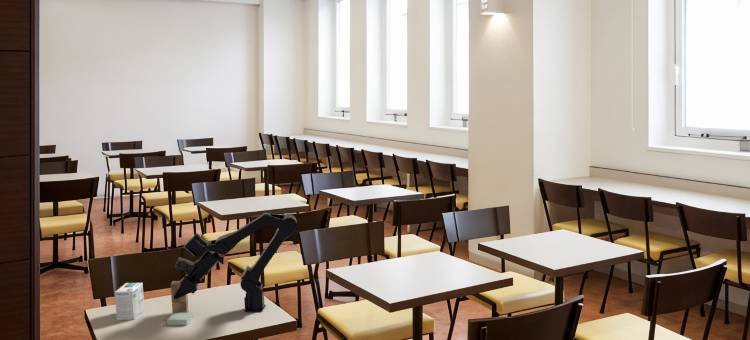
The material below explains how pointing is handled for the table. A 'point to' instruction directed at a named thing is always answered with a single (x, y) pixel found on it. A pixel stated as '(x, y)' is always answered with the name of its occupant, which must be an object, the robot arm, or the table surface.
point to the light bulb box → (129, 301)
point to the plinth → (180, 319)
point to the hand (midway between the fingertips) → (175, 295)
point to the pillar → (178, 299)
